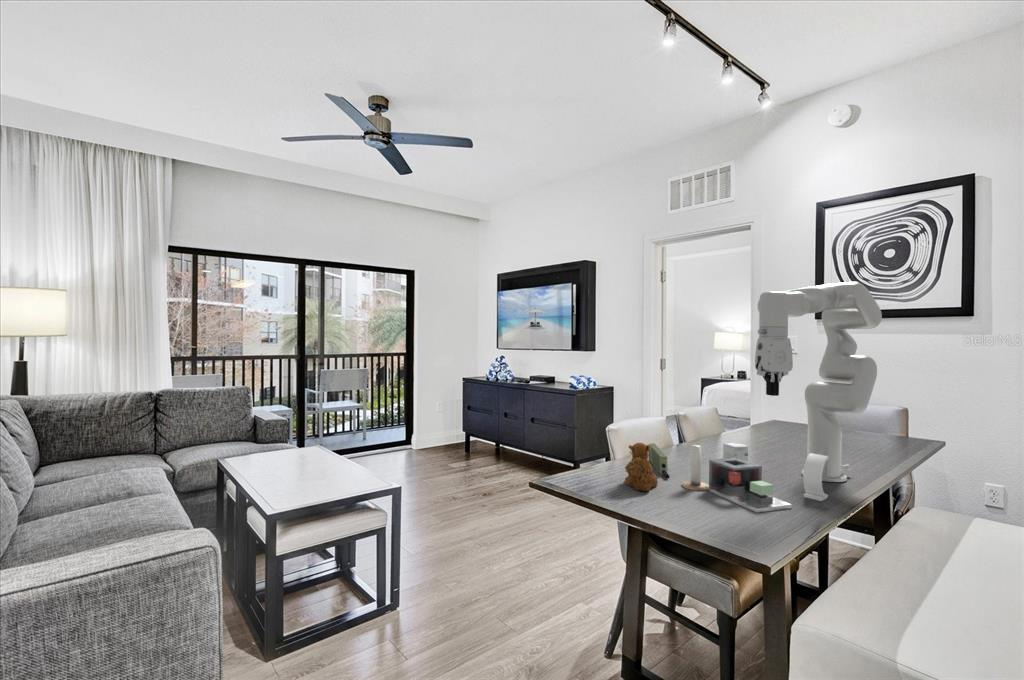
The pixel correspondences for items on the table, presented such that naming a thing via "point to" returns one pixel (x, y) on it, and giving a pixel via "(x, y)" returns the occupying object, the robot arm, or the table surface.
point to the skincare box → (735, 451)
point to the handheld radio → (658, 459)
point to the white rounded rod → (696, 465)
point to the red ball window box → (741, 485)
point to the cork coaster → (697, 488)
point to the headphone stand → (814, 476)
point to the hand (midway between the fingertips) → (772, 395)
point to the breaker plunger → (734, 478)
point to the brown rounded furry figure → (640, 469)
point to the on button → (761, 488)
